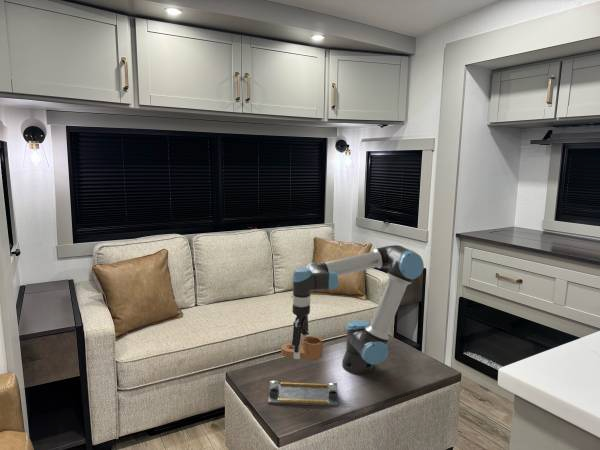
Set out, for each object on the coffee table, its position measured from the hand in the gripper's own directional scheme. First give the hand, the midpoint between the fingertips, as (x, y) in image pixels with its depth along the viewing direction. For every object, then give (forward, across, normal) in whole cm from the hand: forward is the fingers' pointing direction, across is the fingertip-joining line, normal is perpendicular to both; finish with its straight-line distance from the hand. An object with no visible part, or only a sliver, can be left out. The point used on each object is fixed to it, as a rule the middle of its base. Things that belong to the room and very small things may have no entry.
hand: (300, 353), depth 178 cm
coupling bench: (+18, +3, +3) cm, 18 cm away
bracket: (+1, 0, +1) cm, 1 cm away
